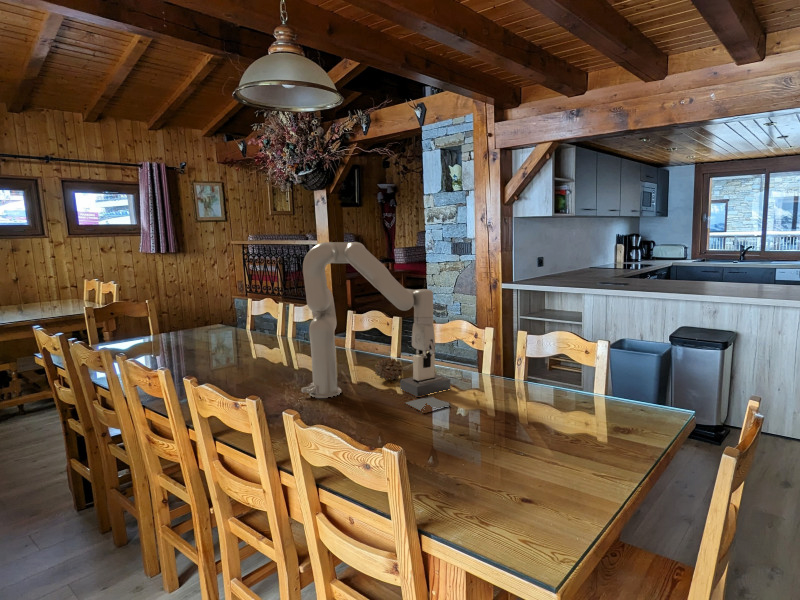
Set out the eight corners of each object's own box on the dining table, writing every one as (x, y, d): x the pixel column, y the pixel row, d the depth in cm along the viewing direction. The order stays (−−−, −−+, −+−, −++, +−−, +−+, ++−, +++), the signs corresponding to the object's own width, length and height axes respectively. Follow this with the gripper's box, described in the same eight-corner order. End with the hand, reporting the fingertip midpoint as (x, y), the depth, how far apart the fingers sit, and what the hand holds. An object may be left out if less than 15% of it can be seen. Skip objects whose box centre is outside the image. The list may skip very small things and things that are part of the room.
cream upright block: (418, 380, 196) (418, 357, 195) (413, 378, 199) (413, 355, 198) (434, 377, 201) (434, 354, 199) (429, 375, 203) (429, 352, 202)
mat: (423, 414, 174) (423, 412, 174) (404, 404, 184) (404, 402, 184) (450, 406, 181) (450, 404, 181) (430, 398, 191) (430, 396, 191)
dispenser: (417, 398, 191) (417, 385, 191) (400, 390, 201) (400, 378, 201) (450, 390, 200) (450, 377, 199) (432, 383, 210) (432, 371, 209)
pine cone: (383, 386, 208) (382, 362, 206) (370, 381, 215) (369, 358, 214) (423, 375, 221) (422, 353, 220) (409, 371, 229) (408, 350, 227)
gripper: (404, 318, 202) (404, 363, 204) (428, 324, 188) (428, 372, 190) (419, 316, 206) (419, 360, 208) (444, 322, 192) (444, 369, 194)
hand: (423, 365), depth 199 cm, fingers closed on cream upright block, 3 cm apart
